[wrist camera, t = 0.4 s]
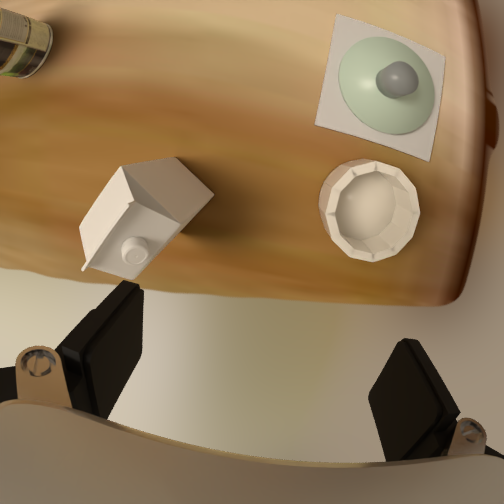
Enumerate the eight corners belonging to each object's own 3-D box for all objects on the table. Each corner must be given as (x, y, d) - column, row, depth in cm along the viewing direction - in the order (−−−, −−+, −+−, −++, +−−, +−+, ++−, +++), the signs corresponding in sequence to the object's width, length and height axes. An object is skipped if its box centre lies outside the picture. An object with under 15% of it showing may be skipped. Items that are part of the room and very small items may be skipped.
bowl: (329, 149, 35) (340, 150, 29) (407, 173, 35) (429, 179, 29) (309, 234, 39) (315, 249, 33) (385, 251, 39) (401, 268, 33)
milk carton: (141, 196, 38) (52, 240, 20) (175, 156, 36) (94, 170, 18) (179, 232, 40) (113, 302, 22) (215, 194, 38) (165, 240, 20)
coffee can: (38, 82, 33) (-26, 75, 19) (5, 74, 32) (-53, 70, 18) (63, 23, 29) (5, 1, 16) (28, 21, 28) (-26, 6, 15)
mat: (335, 15, 28) (336, 13, 28) (443, 57, 29) (445, 56, 28) (314, 125, 34) (314, 124, 33) (427, 161, 34) (429, 161, 34)
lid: (346, 26, 29) (356, 11, 24) (435, 61, 29) (454, 53, 24) (329, 116, 33) (338, 112, 28) (422, 147, 33) (441, 149, 28)
